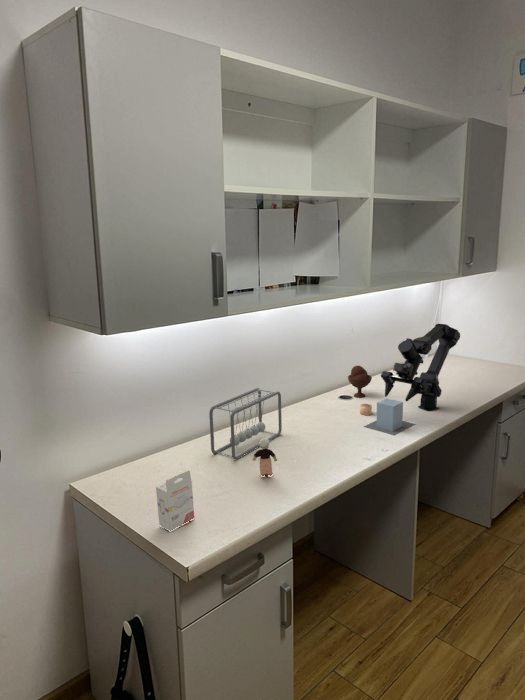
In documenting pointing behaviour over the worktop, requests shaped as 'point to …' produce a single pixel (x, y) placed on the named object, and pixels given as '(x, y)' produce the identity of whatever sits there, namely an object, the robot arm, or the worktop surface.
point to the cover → (389, 414)
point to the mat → (373, 426)
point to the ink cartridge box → (175, 501)
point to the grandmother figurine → (265, 457)
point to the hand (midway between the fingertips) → (395, 398)
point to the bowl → (365, 409)
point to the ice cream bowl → (359, 379)
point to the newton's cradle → (249, 431)
